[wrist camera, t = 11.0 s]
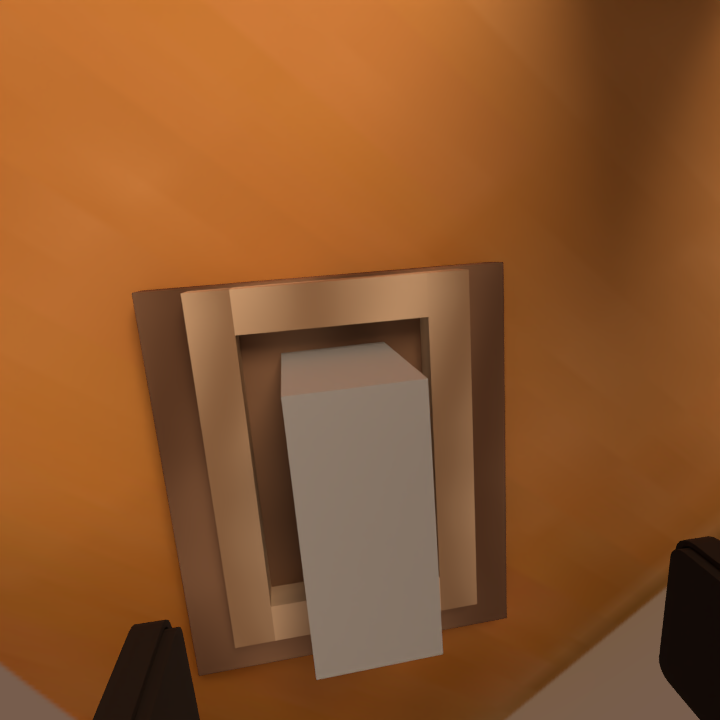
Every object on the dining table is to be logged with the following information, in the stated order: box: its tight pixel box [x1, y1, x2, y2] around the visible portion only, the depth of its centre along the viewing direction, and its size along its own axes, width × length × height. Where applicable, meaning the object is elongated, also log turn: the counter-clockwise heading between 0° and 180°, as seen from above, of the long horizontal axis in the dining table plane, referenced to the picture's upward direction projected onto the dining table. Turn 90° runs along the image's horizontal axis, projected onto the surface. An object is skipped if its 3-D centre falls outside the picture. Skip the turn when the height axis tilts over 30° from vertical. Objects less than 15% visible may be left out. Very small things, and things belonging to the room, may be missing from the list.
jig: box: [132, 262, 507, 676], centre depth 20 cm, size 14×16×2 cm
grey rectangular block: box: [281, 342, 443, 680], centre depth 17 cm, size 4×9×6 cm, turn 5°
